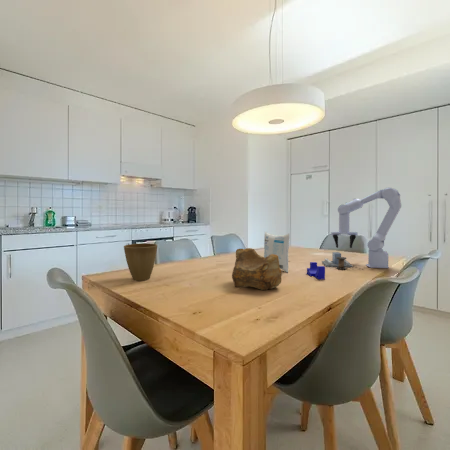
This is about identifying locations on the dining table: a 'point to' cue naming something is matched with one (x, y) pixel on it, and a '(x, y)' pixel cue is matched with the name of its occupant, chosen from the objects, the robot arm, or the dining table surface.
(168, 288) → the dining table surface
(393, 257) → the dining table surface
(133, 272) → the plant pot
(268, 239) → the pouch
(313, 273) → the cable clip
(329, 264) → the grey railed square plate
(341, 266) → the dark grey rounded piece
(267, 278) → the rough brown rock
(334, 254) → the blue-grey block
